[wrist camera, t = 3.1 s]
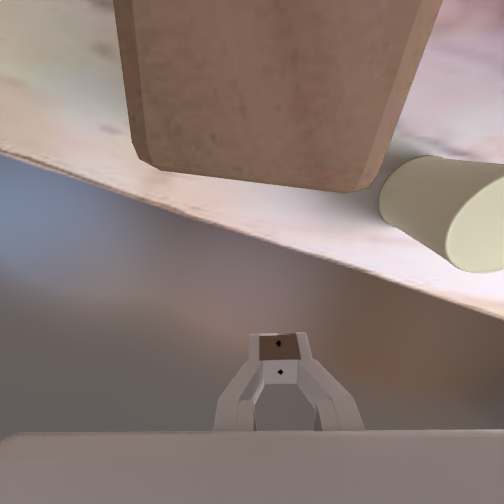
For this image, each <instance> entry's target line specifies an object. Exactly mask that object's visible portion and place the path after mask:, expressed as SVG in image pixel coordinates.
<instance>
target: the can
mask: <svg viewBox="0 0 504 504" xmlns="http://www.w3.org/2000/svg"><path fill="white" fill-rule="evenodd" d="M378 206H379V211H380V214H381V216H382V218H383V219H384V220H385V222H387V223H388V224H389V225H391V226H393V227H396V228H398V229H400V230H401V231H403V232H405V233H406V234H408V235H409V236H411V237H412V238H414V239H416V240H417V241H419V242H420V243H422V244H423V245H425V246H426V247H428V248H429V249H431V250H433V251H434V252H436V253H437V254H439V255H440V256H442V257H443V258H444V259H446V260H447V261H449V262H450V263H451V264H452V265H453V266H455V267H457V268H458V269H461V270H463V271H466V272H472V273H489V272H496V271H500V270H504V164H494V163H484V162H473V161H463V160H453V159H445V158H442V157H439V156H422V157H418V158H415V159H412V160H410V161H408V162H406V163H404V164H403V165H401V166H400V167H399V168H397V169H396V170H395V171H394V172H393V173H392V174H391V175H390V176H389V178H388V179H387V180H386V182H385V183H384V185H383V187H382V189H381V192H380V195H379V203H378Z"/></svg>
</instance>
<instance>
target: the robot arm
mask: <svg viewBox="0 0 504 504" xmlns="http://www.w3.org/2000/svg"><path fill="white" fill-rule="evenodd" d="M278 383H294V384H295V383H296V384H298V386H299V387H300V389H301V390H302V392H303V393H304V394H305V396H306V397H307V398H308V400H309V401H310V403H311V404H312V406H313V407H314V409H315V410H316V412H315V420H314V429H313V431H257V426H256V418H255V410H254V405H255V403H256V401H257V399H258V397H259V395H260V393H261V391H262V389H263V387H264V384H278ZM0 504H504V430H379V431H378V430H375V431H374V430H369V431H367V430H365V428H364V425H363V422H362V420H361V417H360V415H359V412H358V409H357V406H356V404H355V401H354V398H353V397H352V396H351V395H350V394H349V393H348V392H347V391H346V390H345V389H344V388H343V387H342V386H341V385H340V384H339V383H338V382H337V381H336V380H335V379H334V378H333V377H332V376H331V375H330V374H329V373H328V372H327V371H326V370H325V369H324V368H323V367H322V366H321V365H320V364H319V362H318V361H317V360H313V359H312V355H311V351H310V347H309V343H308V339H307V335H306V333H305V332H301V333H277V334H250V339H249V361H246V362H245V363H244V364H243V366H242V367H241V369H240V370H239V371H238V373H237V374H236V375H235V377H234V378H233V380H232V381H231V382H230V384H229V385H228V387H227V388H226V389H225V391H224V392H223V393H222V395H221V396H220V398H219V399H218V404H217V410H216V416H215V423H214V429H213V431H212V432H210V431H209V432H60V433H57V432H55V433H54V432H53V433H51V432H49V433H17V434H14V435H11V436H9V437H8V438H6V439H4V440H3V441H1V442H0Z"/></svg>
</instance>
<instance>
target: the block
mask: <svg viewBox="0 0 504 504" xmlns="http://www.w3.org/2000/svg"><path fill="white" fill-rule="evenodd" d="M113 3H114V10H115V18H116V25H117V33H118V40H119V48H120V56H121V63H122V71H123V78H124V86H125V93H126V101H127V108H128V116H129V123H130V131H131V138H132V143H133V146H134V148H135V150H136V153H137V155H138V157H139V159H140V160H142V161H144V162H146V163H148V164H150V165H152V166H154V167H156V168H157V169H159V170H161V171H169V172H177V173H185V174H193V175H201V176H209V177H217V178H225V179H233V180H241V181H249V182H257V183H265V184H274V185H282V186H290V187H298V188H306V189H314V190H322V191H330V192H338V193H349V192H353V191H357V190H361V189H364V188H368V187H369V186H370V184H371V183H372V182H373V180H374V179H375V177H376V176H377V175H378V173H379V170H380V168H381V165H382V162H383V160H384V157H385V154H386V151H387V149H388V146H389V143H390V141H391V138H392V135H393V133H394V130H395V127H396V124H397V122H398V119H399V116H400V114H401V111H402V108H403V106H404V103H405V100H406V97H407V95H408V92H409V89H410V87H411V84H412V81H413V79H414V76H415V73H416V70H417V68H418V65H419V62H420V60H421V57H422V54H423V52H424V49H425V46H426V43H427V41H428V38H429V35H430V33H431V30H432V27H433V25H434V22H435V19H436V16H437V14H438V11H439V8H440V6H441V3H442V0H113Z"/></svg>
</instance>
